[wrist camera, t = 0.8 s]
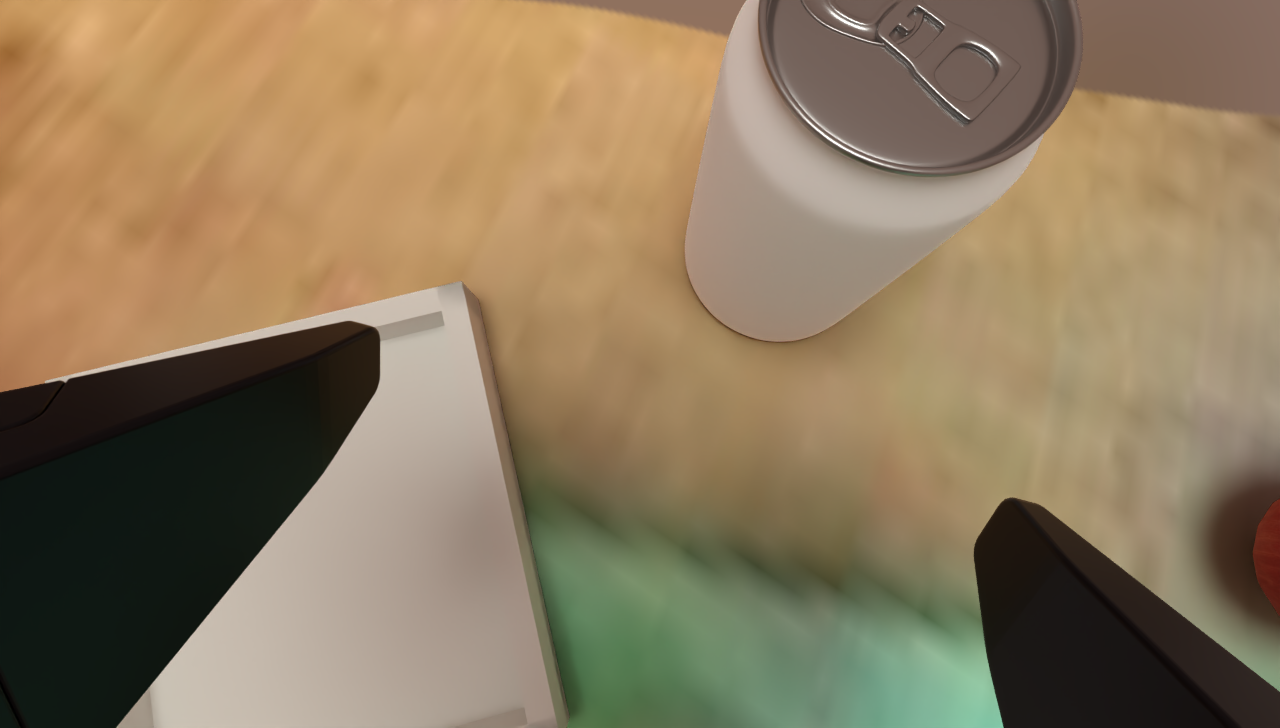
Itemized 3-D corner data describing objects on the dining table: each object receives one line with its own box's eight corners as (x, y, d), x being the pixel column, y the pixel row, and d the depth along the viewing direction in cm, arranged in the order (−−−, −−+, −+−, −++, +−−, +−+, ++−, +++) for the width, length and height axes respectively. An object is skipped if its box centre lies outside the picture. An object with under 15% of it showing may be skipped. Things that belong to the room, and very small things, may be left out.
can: (764, 137, 24) (893, -201, 12) (901, 252, 23) (1184, 14, 11) (645, 260, 23) (655, 29, 11) (782, 383, 22) (952, 278, 10)
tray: (569, 717, 20) (561, 746, 18) (154, 831, 20) (94, 875, 17) (478, 299, 22) (461, 280, 20) (103, 390, 22) (45, 380, 20)
